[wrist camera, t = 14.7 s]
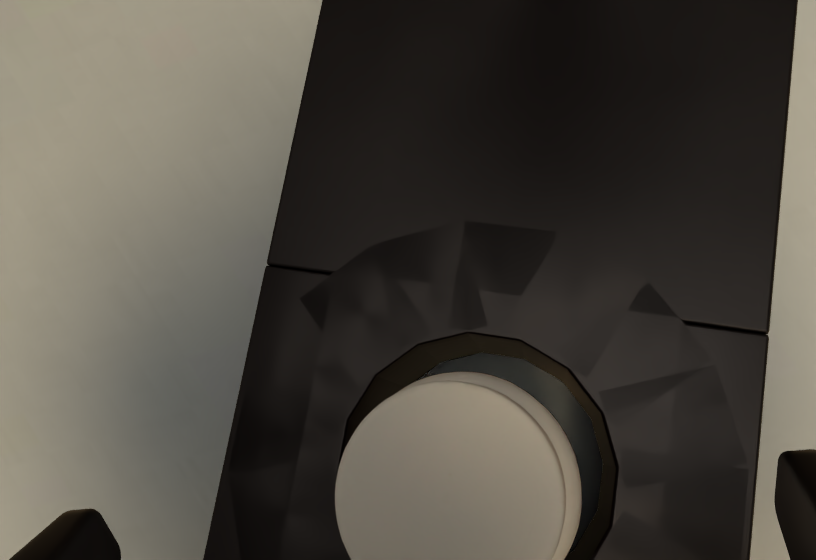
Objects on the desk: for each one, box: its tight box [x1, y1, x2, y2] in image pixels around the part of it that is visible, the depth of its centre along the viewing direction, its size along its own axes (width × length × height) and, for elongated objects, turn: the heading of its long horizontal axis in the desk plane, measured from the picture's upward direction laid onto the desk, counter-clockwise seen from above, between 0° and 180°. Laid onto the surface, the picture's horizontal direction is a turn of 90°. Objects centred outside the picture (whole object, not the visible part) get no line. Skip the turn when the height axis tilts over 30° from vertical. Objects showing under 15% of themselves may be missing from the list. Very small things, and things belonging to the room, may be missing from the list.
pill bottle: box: [335, 372, 582, 560], centre depth 17 cm, size 5×5×8 cm
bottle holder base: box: [203, 0, 798, 560], centre depth 20 cm, size 28×12×4 cm, turn 170°
